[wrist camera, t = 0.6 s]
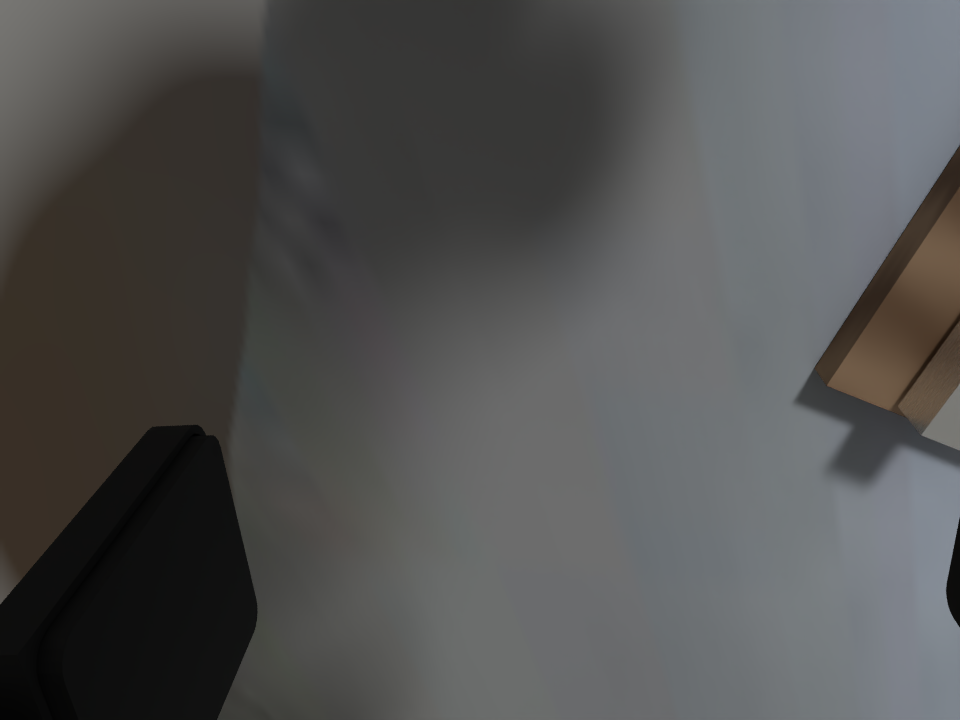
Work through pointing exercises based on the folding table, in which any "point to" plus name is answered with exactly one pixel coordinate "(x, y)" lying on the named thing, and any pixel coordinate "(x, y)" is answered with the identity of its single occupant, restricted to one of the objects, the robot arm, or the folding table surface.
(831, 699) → the folding table surface
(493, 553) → the folding table surface
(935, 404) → the lock bar
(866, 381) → the plate
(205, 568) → the robot arm
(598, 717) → the folding table surface
